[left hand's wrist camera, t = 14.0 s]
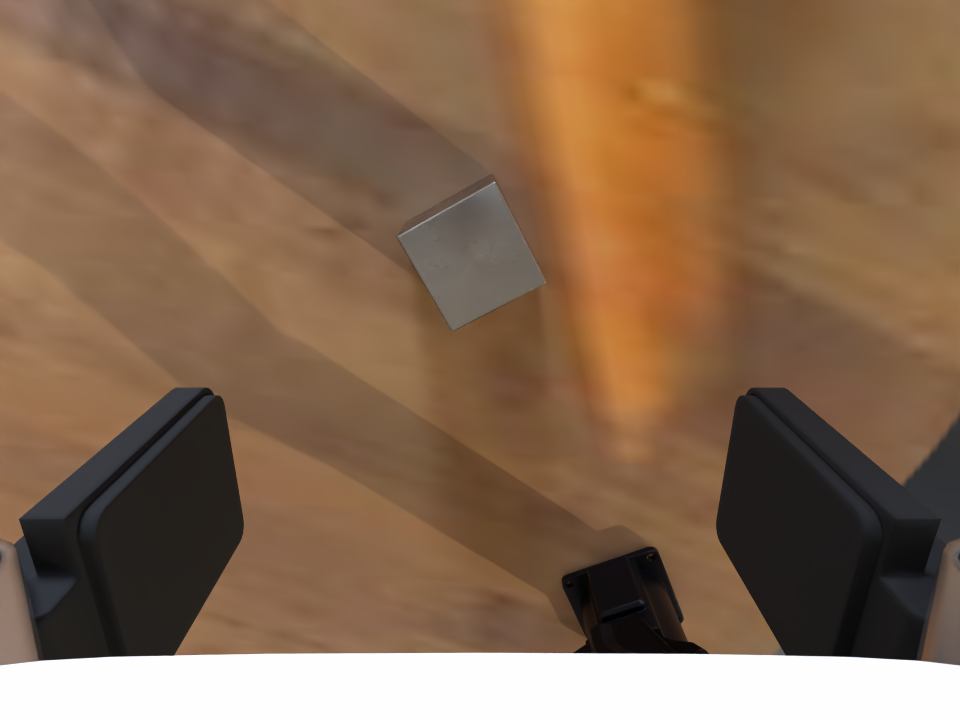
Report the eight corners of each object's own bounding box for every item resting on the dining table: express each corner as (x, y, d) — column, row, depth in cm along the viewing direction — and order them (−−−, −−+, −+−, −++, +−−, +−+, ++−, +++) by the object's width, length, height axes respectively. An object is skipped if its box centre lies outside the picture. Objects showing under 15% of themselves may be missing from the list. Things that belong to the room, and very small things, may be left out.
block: (454, 306, 33) (451, 332, 29) (406, 221, 31) (395, 236, 27) (537, 262, 32) (547, 282, 28) (492, 173, 30) (495, 180, 26)
